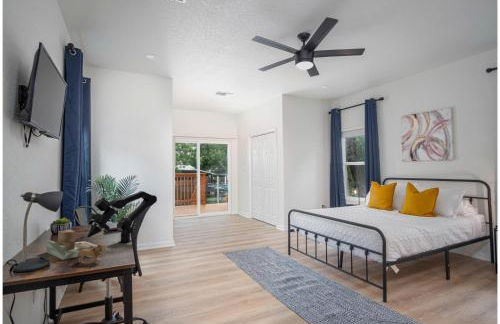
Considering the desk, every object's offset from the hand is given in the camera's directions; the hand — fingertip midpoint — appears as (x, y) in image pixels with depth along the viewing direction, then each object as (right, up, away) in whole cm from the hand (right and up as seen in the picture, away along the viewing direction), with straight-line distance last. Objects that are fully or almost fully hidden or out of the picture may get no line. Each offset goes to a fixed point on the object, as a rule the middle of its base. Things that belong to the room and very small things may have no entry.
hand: (87, 237), depth 174 cm
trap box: (-4, -7, -6) cm, 10 cm away
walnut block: (-7, -4, -9) cm, 13 cm away
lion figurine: (+15, -7, -24) cm, 29 cm away
